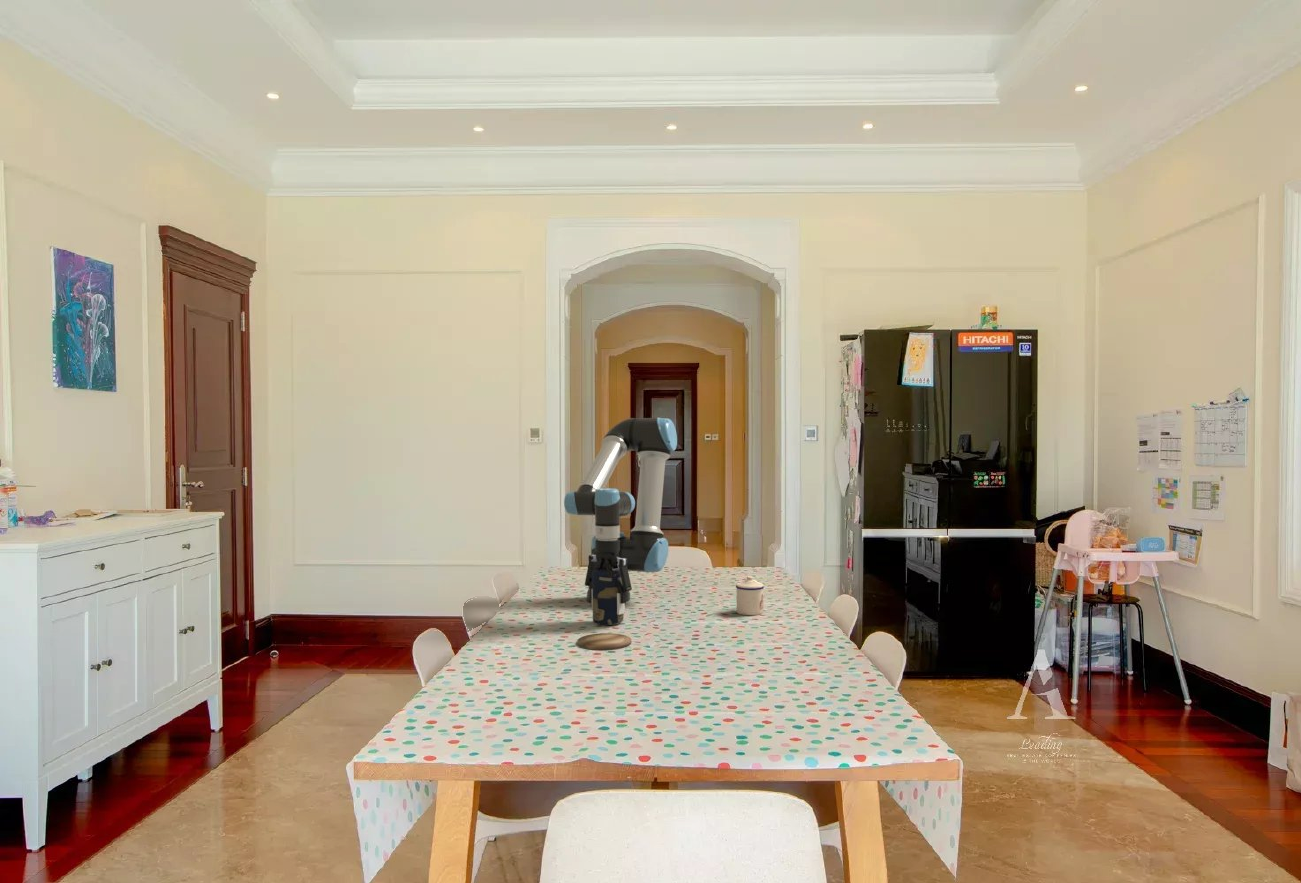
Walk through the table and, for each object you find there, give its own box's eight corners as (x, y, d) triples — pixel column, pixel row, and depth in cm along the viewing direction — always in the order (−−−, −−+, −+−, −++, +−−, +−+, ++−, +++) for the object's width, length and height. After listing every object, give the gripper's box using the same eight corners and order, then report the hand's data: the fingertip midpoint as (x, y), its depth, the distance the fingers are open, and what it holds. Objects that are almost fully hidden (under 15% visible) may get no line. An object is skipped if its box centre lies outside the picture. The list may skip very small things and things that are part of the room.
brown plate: (566, 644, 234) (566, 641, 234) (601, 633, 245) (601, 630, 245) (607, 653, 224) (607, 649, 224) (642, 641, 236) (642, 638, 236)
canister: (625, 619, 262) (625, 562, 262) (621, 627, 253) (621, 567, 252) (595, 619, 263) (594, 562, 262) (590, 626, 253) (589, 567, 253)
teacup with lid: (766, 615, 266) (766, 579, 266) (738, 616, 266) (737, 579, 266) (759, 607, 278) (759, 572, 278) (732, 607, 278) (732, 572, 278)
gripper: (572, 537, 261) (573, 609, 261) (627, 543, 247) (628, 618, 248) (588, 534, 267) (589, 604, 267) (643, 540, 253) (644, 614, 254)
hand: (608, 611), depth 258 cm, fingers closed on canister, 9 cm apart
